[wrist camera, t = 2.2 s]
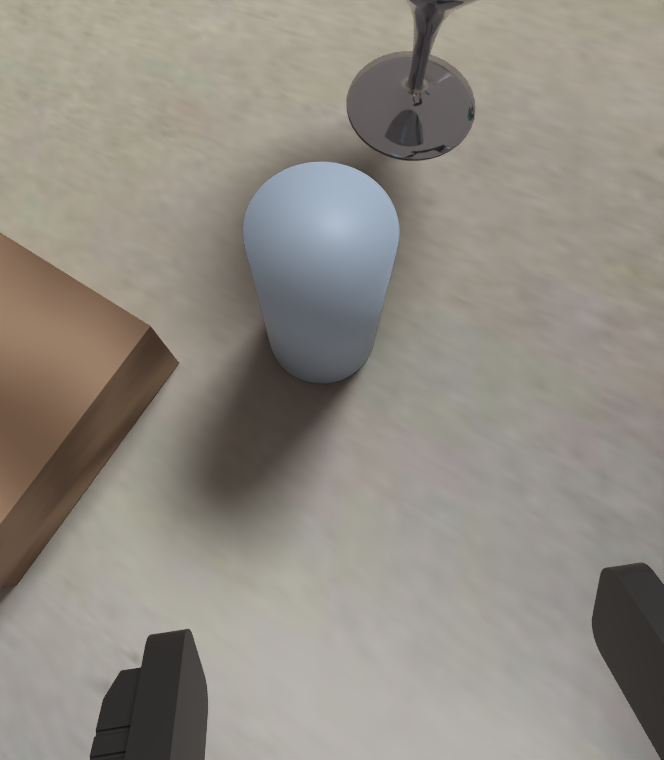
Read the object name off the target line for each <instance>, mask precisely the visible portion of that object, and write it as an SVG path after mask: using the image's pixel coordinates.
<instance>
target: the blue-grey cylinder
mask: <svg viewBox="0 0 664 760" xmlns="http://www.w3.org/2000/svg"><path fill="white" fill-rule="evenodd" d="M399 233H400V231H399V221H398V216H397V213H396V210H395V207H394V205H393V203H392V201H391V199H390V198H389V196H388V195H387V193H386V192H385V191H384V189H383V188H382V187H381V186H380V185H379V184H378V183H377V182H376V181H374V180H373V179H372V178H371V177H369V176H368V175H366V174H365V173H363V172H361V171H359V170H357V169H355V168H352V167H350V166H347V165H343V164H339V163H334V162H309V163H303V164H299V165H295V166H292V167H290V168H287V169H285V170H283V171H281V172H279V173H277V174H276V175H274V176H273V177H271V178H270V179H269V180H268V181H267V182H265V183H264V184H263V185H262V186H261V187H260V189H259V190H258V191H257V192H256V194H255V195H254V197H253V198H252V200H251V202H250V204H249V206H248V208H247V211H246V214H245V218H244V224H243V238H244V245H245V249H246V253H247V257H248V261H249V265H250V268H251V272H252V276H253V280H254V284H255V288H256V292H257V296H258V300H259V303H260V307H261V311H262V315H263V319H264V323H265V327H266V331H267V334H268V338H269V342H270V346H271V349H272V352H273V354H274V356H275V358H276V360H277V361H278V363H279V364H280V365H281V366H282V367H283V368H284V369H285V370H286V371H287V372H288V373H290V374H291V375H293V376H294V377H296V378H298V379H300V380H303V381H306V382H310V383H317V384H327V383H334V382H337V381H341V380H343V379H345V378H347V377H349V376H351V375H352V374H354V373H355V372H356V371H358V370H359V369H360V368H361V367H362V366H363V364H364V363H365V362H366V360H367V359H368V357H369V355H370V353H371V350H372V347H373V343H374V340H375V336H376V332H377V328H378V324H379V320H380V316H381V312H382V308H383V304H384V300H385V296H386V292H387V288H388V284H389V280H390V276H391V272H392V268H393V264H394V260H395V256H396V252H397V247H398V243H399Z"/></svg>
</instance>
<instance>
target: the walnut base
mask: <svg viewBox="0 0 664 760" xmlns="http://www.w3.org/2000/svg"><path fill="white" fill-rule="evenodd" d="M178 364H179V362H178V361H177V360H176V358H175V357H174V356H173V354H172V353H171V352H170V351H169V349H168V348H167V347H166V345H165V344H164V343H163V342H162V340H161V339H160V338H159V336H158V335H157V334H156V333H155V331H154V330H153V329H152V327H151V326H150V325H148V324H146V323H145V322H143V321H141V320H140V319H138V318H137V317H135V316H133V315H132V314H130V313H129V312H127V311H125V310H124V309H122V308H121V307H119V306H117V305H116V304H114V303H113V302H111V301H109V300H108V299H106V298H104V297H103V296H101V295H100V294H98V293H96V292H95V291H93V290H92V289H90V288H88V287H87V286H85V285H84V284H82V283H80V282H79V281H77V280H76V279H74V278H72V277H71V276H69V275H68V274H66V273H64V272H63V271H61V270H59V269H58V268H56V267H55V266H53V265H51V264H50V263H48V262H47V261H45V260H43V259H42V258H40V257H39V256H37V255H35V254H34V253H32V252H31V251H29V250H27V249H26V248H24V247H23V246H21V245H19V244H18V243H16V242H14V241H13V240H11V239H10V238H8V237H6V236H5V235H3V234H2V233H0V587H4V586H12V585H17V584H18V582H19V581H20V580H21V578H22V577H23V576H24V574H25V573H26V571H27V570H28V569H29V567H30V566H31V565H32V563H33V562H34V560H35V559H36V558H37V556H38V555H39V554H40V552H41V551H42V550H43V548H44V547H45V545H46V544H47V543H48V541H49V540H50V539H51V537H52V536H53V535H54V533H55V532H56V530H57V529H58V528H59V526H60V525H61V524H62V522H63V521H64V519H65V518H66V517H67V515H68V514H69V513H70V511H71V510H72V509H73V507H74V506H75V504H76V503H77V502H78V500H79V499H80V498H81V496H82V495H83V493H84V492H85V491H86V489H87V488H88V487H89V485H90V484H91V483H92V481H93V480H94V478H95V477H96V476H97V474H98V473H99V472H100V470H101V469H102V467H103V466H104V465H105V463H106V462H107V461H108V459H109V458H110V457H111V455H112V454H113V452H114V451H115V450H116V448H117V447H118V446H119V444H120V443H121V442H122V440H123V439H124V437H125V436H126V435H127V433H128V432H129V431H130V429H131V428H132V426H133V425H134V424H135V422H136V421H137V420H138V418H139V417H140V416H141V414H142V413H143V411H144V410H145V409H146V407H147V406H148V405H149V403H150V402H151V400H152V399H153V398H154V396H155V395H156V394H157V392H158V391H159V390H160V388H161V387H162V385H163V384H164V383H165V381H166V380H167V379H168V377H169V376H170V374H171V373H172V372H173V370H174V369H175V368H176V366H177V365H178Z"/></svg>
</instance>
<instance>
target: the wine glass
mask: <svg viewBox="0 0 664 760" xmlns="http://www.w3.org/2000/svg"><path fill="white" fill-rule="evenodd" d="M405 1H406V3H407V4H408V6H409V7H410V10H411V12H412V15H413V21H414V41H413V51H403V52H395V53H391V54H387V55H384V56H381V57H379V58H377V59H375V60H373V61H372V62H370V63H369V64H367V65H366V66H365V67H364V68H363V69H362V70H361V71H360V72H359V73H358V74H357V75H356V77H355V78H354V80H353V81H352V84H351V86H350V88H349V91H348V96H347V111H348V115H349V119H350V121H351V123H352V126H353V128H354V129H355V130H356V132H357V133H358V135H359V136H360V137H361V138H362V139H363V140H364V141H365V142H366V143H367V144H369V145H370V146H371V147H373V148H374V149H376V150H378V151H380V152H382V153H384V154H386V155H389V156H392V157H395V158H400V159H406V160H421V159H428V158H433V157H436V156H439V155H442V154H444V153H446V152H448V151H450V150H451V149H453V148H454V147H455V146H457V145H458V144H459V143H460V142H461V141H462V140H463V139H464V138H465V137H466V135H467V134H468V132H469V130H470V129H471V126H472V123H473V121H474V116H475V100H474V97H473V93H472V90H471V88H470V86H469V84H468V82H467V81H466V79H465V78H464V77H463V75H462V74H461V73H460V72H459V71H458V70H457V69H456V68H455V67H453V66H452V65H450V64H449V63H448V62H446V61H444V60H442V59H440V58H438V57H436V56H433V55H430V52H431V49H432V46H433V44H434V41H435V38H436V36H437V34H438V31H439V29H440V27H441V25H442V23H443V22H444V20H445V19H446V18H447V17H448V16H449V15H450V14H451V13H453V12H454V11H455V10H458V9H460V8H462V7H465V6H467V5H469V4H471V3H474V2H476V1H478V0H405Z"/></svg>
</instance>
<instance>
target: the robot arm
mask: <svg viewBox="0 0 664 760" xmlns="http://www.w3.org/2000/svg"><path fill="white" fill-rule="evenodd" d="M592 629H593V634H594V638H595V642H596V644H597V647H598V649H599V651H600V653H601V655H602V657H603V659H604V660H605V662H606V664H607V666H608V667H609V669H610V671H611V673H612V674H613V676H614V678H615V680H616V681H617V683H618V685H619V687H620V688H621V690H622V692H623V694H624V695H625V697H626V699H627V701H628V702H629V704H630V706H631V708H632V709H633V711H634V713H635V715H636V716H637V718H638V720H639V722H640V723H641V725H642V727H643V729H644V731H645V732H646V734H647V736H648V738H649V739H650V741H651V743H652V745H653V746H654V748H655V750H656V752H657V753H658V755H659V757H660V759H661V760H664V584H663V583H662V582H661V580H660V579H659V578H658V576H657V575H656V574H655V573H654V571H653V570H652V569H651V568H650V567H649V566H648V565H646V564H645V563H635V564H628V565H622V566H615V567H608V568H604V569H603V570H602V571H601V574H600V579H599V584H598V589H597V595H596V600H595V605H594V610H593V616H592ZM207 717H208V694H207V685H206V679H205V675H204V672H203V668H202V665H201V662H200V658H199V655H198V652H197V648H196V645H195V642H194V638H193V635H192V632H191V630H190V629H185V630H179V631H172V632H165V633H159V634H152V635H149V637H148V638H147V641H146V645H145V650H144V655H143V661H142V666H141V668H135V669H128V670H122V671H120V673H119V674H118V676H117V678H116V679H115V681H114V683H113V684H112V686H111V687H110V689H109V691H108V692H107V694H106V695H105V697H104V699H103V702H102V706H101V710H100V715H99V719H98V723H97V727H96V737H94V740H93V745H92V749H91V753H90V760H204V759H205V745H206V731H207Z"/></svg>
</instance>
